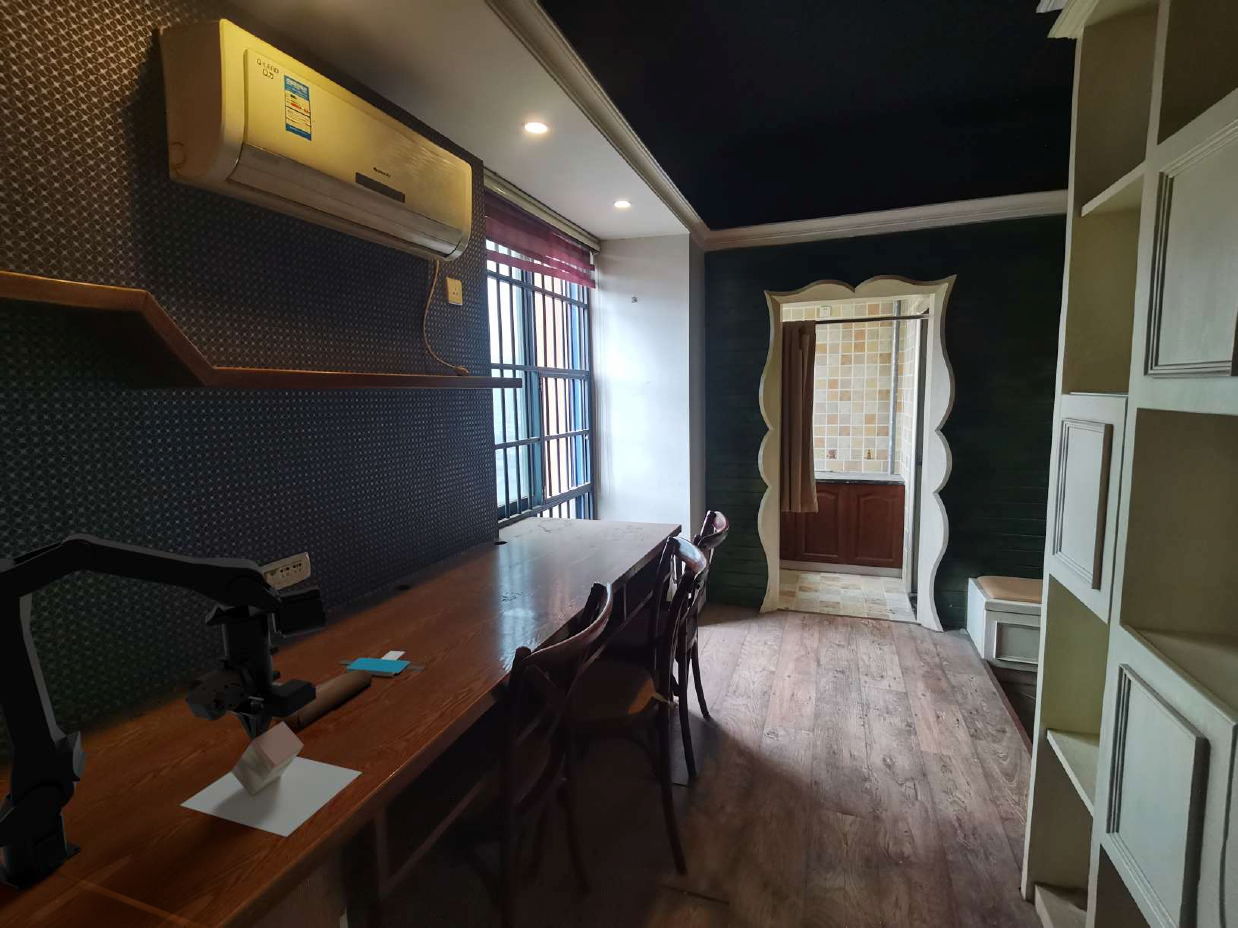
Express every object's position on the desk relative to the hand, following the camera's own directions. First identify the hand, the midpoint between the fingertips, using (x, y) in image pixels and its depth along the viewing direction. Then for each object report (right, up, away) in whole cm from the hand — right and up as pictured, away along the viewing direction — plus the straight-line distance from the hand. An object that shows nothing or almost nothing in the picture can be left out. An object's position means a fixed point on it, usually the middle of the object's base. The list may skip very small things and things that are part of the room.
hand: (258, 743), depth 88 cm
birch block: (-1, -5, +1) cm, 5 cm away
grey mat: (+3, -7, 0) cm, 8 cm away
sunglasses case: (-3, -5, +25) cm, 25 cm away
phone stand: (+2, -3, +41) cm, 41 cm away
